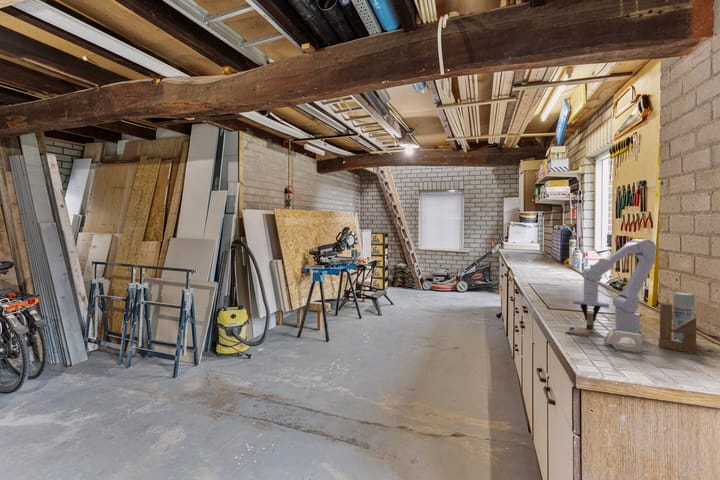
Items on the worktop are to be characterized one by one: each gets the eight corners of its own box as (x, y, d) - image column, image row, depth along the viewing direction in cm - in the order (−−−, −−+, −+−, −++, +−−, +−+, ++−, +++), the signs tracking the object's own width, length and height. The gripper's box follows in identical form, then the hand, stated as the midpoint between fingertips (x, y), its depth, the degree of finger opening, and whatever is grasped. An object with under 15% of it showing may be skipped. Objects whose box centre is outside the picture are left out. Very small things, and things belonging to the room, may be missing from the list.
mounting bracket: (603, 350, 140) (603, 330, 136) (603, 340, 145) (603, 320, 141) (640, 356, 133) (642, 335, 129) (639, 346, 138) (641, 325, 134)
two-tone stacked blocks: (593, 327, 166) (594, 311, 166) (592, 330, 160) (592, 314, 160) (587, 326, 167) (588, 310, 167) (586, 329, 162) (586, 313, 162)
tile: (589, 333, 158) (589, 330, 158) (588, 336, 153) (588, 333, 153) (574, 331, 161) (574, 327, 161) (572, 334, 157) (572, 330, 157)
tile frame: (591, 331, 159) (591, 329, 159) (588, 337, 151) (588, 335, 151) (569, 327, 165) (569, 325, 165) (565, 333, 156) (565, 331, 156)
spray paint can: (692, 338, 148) (693, 293, 147) (693, 342, 143) (694, 295, 142) (672, 335, 152) (673, 291, 151) (672, 339, 147) (673, 293, 147)
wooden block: (695, 353, 131) (697, 307, 130) (658, 347, 138) (659, 303, 137) (695, 351, 133) (696, 306, 133) (658, 344, 141) (660, 302, 140)
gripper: (572, 292, 165) (571, 319, 165) (608, 296, 156) (608, 325, 156) (574, 290, 170) (573, 316, 171) (609, 293, 161) (609, 321, 162)
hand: (590, 320), depth 164 cm, fingers closed on two-tone stacked blocks, 2 cm apart
